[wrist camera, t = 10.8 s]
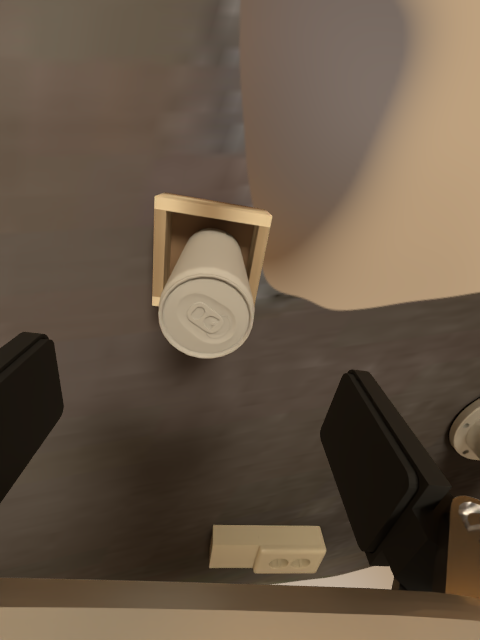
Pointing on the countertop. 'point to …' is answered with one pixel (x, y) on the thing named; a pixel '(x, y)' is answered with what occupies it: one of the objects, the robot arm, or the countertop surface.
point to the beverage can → (207, 297)
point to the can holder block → (195, 214)
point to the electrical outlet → (267, 548)
